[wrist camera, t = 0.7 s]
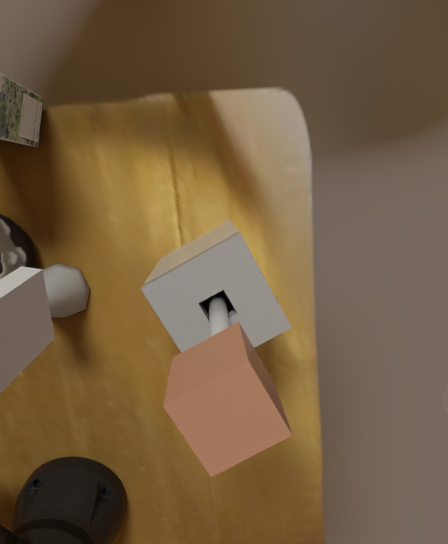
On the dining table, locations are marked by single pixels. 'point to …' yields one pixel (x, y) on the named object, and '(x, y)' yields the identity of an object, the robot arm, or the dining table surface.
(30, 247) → the donut
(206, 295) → the slotted white box
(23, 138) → the syrup box
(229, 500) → the dining table surface
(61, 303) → the flask
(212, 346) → the pump plunger
